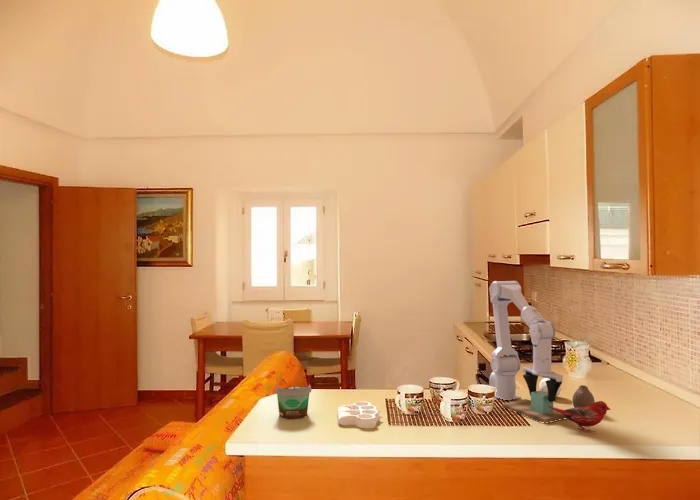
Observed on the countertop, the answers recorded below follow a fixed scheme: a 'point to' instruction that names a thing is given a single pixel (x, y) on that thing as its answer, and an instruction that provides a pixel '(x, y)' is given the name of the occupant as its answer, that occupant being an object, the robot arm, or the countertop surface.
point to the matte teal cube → (541, 402)
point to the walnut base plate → (525, 409)
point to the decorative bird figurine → (585, 414)
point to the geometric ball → (544, 387)
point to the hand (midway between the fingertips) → (542, 398)
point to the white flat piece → (358, 415)
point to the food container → (293, 402)
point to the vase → (582, 397)
